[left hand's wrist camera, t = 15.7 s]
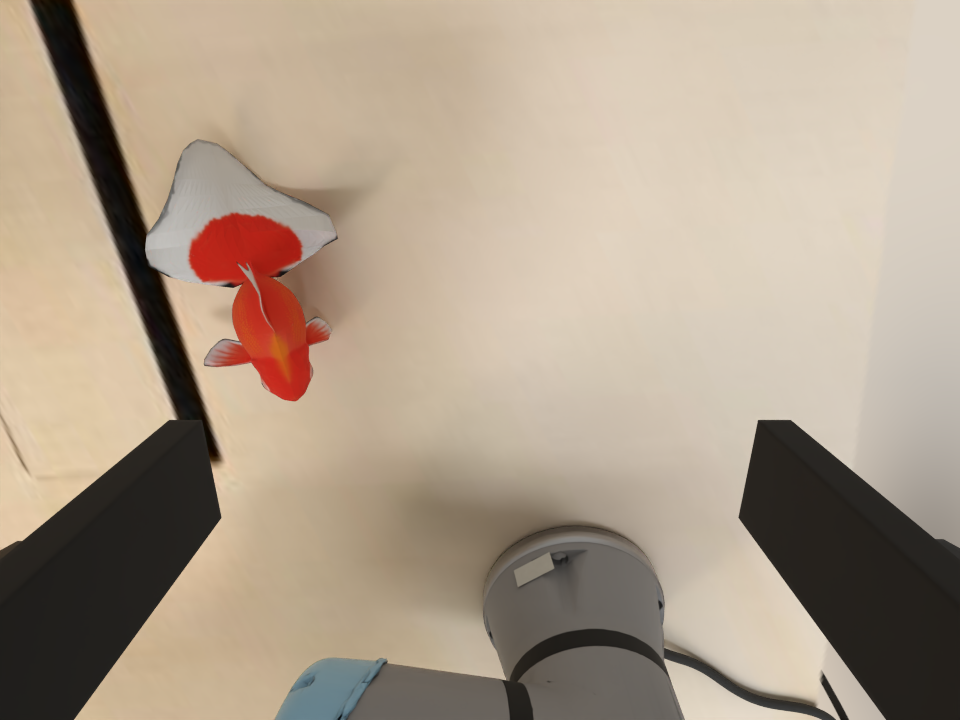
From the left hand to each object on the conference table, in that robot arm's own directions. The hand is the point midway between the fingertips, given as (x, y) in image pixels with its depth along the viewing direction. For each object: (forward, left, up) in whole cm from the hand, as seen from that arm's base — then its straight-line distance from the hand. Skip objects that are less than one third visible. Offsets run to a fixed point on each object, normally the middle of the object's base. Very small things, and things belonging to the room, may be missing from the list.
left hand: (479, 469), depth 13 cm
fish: (+12, +7, -25) cm, 29 cm away
